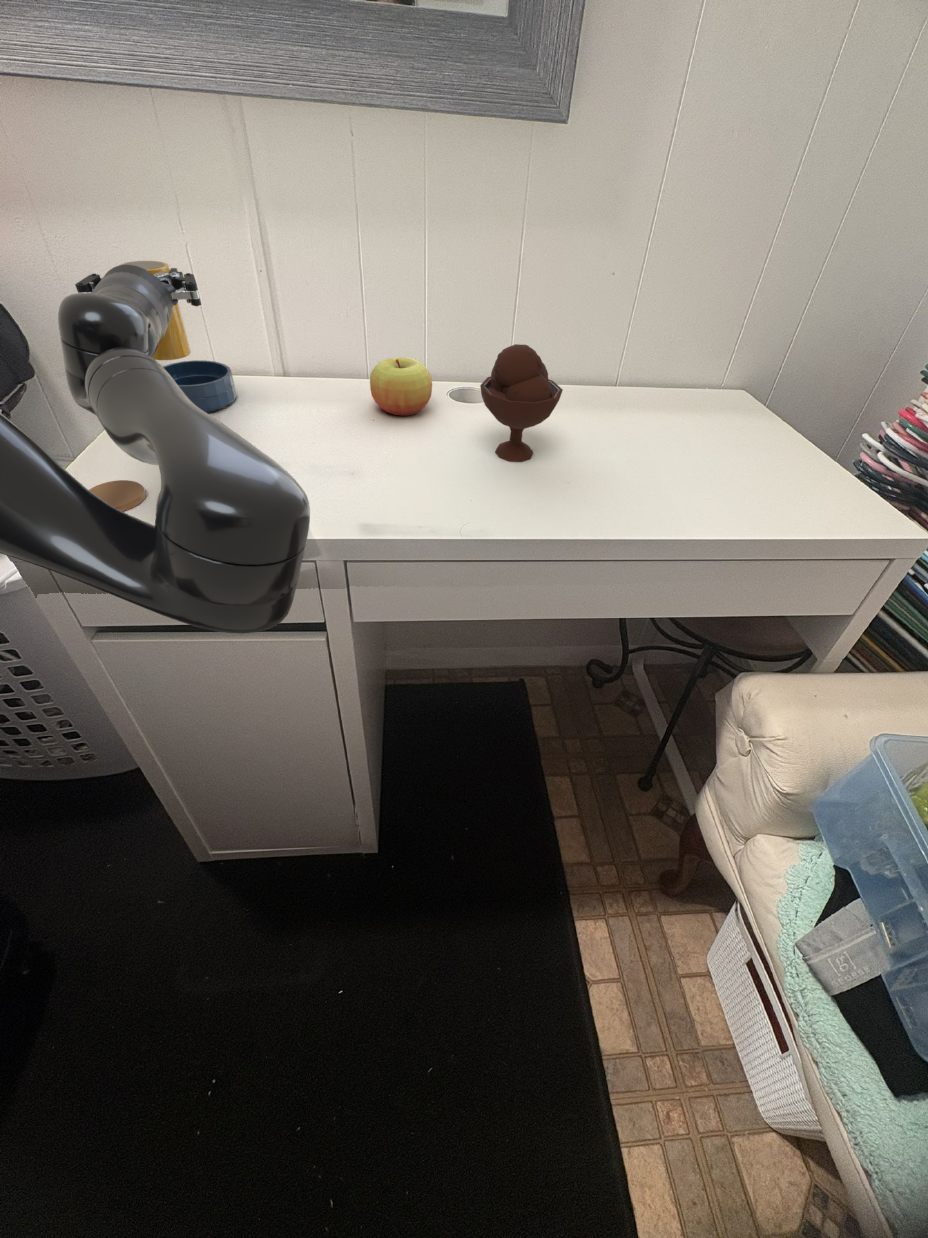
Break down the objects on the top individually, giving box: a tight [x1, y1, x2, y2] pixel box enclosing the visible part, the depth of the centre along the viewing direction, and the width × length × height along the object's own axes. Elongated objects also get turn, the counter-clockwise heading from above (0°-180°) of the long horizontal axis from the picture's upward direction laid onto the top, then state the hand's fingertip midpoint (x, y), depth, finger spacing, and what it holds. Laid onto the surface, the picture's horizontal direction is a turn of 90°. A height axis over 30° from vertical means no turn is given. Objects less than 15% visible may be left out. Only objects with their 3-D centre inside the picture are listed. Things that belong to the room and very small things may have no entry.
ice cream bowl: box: [480, 343, 564, 463], centre depth 77 cm, size 11×11×15 cm
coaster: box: [88, 479, 147, 512], centre depth 68 cm, size 7×7×1 cm
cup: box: [119, 260, 192, 361], centre depth 78 cm, size 6×6×11 cm
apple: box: [369, 356, 433, 416], centre depth 90 cm, size 10×10×8 cm
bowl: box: [162, 359, 237, 414], centre depth 89 cm, size 11×11×4 cm
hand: (149, 276), depth 77 cm, fingers closed on cup, 6 cm apart
